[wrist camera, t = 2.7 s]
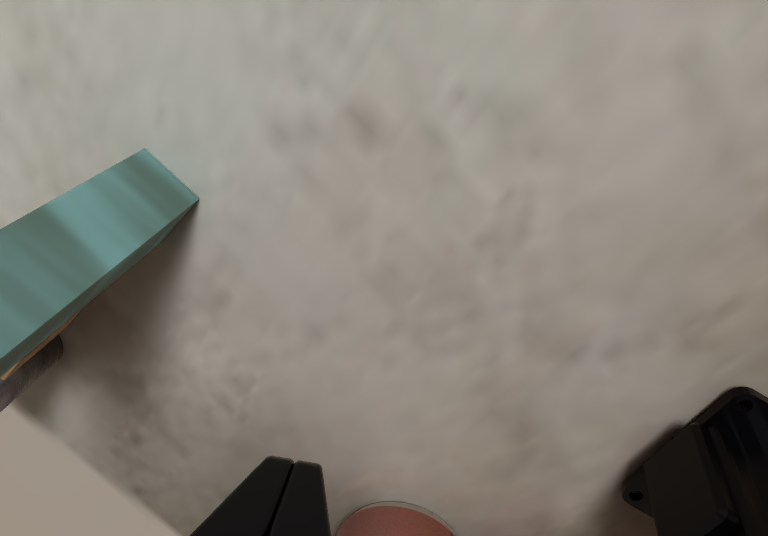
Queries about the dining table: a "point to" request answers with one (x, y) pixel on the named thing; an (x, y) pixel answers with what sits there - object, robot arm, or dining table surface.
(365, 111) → the dining table surface
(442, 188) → the dining table surface
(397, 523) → the beverage can
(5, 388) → the hinge post
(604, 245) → the dining table surface
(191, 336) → the dining table surface
